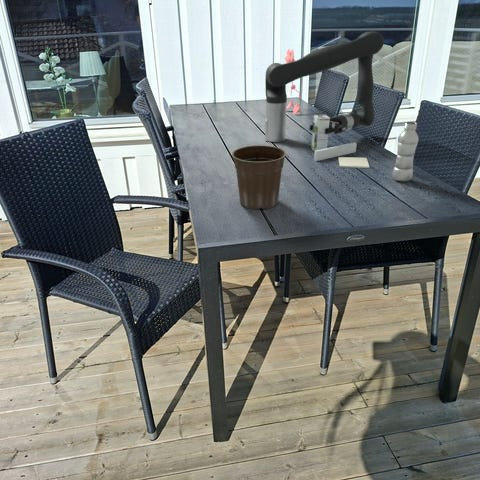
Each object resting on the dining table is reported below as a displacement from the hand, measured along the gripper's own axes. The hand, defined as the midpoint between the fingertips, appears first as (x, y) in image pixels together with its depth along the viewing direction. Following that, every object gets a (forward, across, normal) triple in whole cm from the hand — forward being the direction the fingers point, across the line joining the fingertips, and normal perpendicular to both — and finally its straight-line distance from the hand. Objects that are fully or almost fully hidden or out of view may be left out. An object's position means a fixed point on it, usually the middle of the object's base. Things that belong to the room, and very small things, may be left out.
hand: (317, 129), depth 179 cm
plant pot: (+57, +23, +9) cm, 62 cm away
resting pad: (+3, +21, +9) cm, 23 cm away
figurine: (-48, -60, +9) cm, 77 cm away
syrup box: (-2, 0, +9) cm, 9 cm away
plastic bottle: (+7, +44, +9) cm, 45 cm away
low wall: (0, +10, +9) cm, 14 cm away
